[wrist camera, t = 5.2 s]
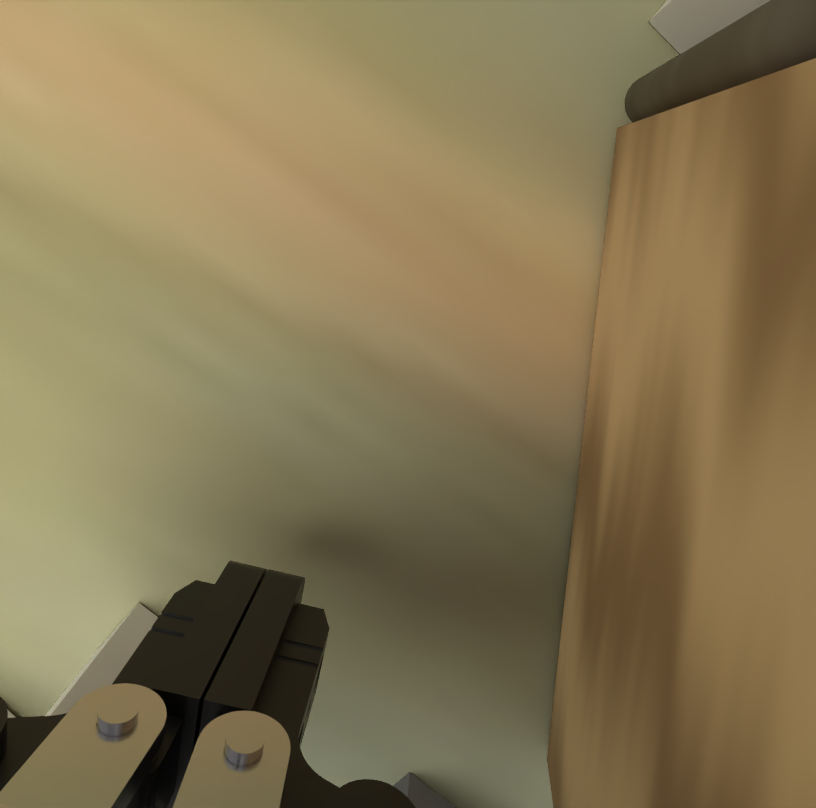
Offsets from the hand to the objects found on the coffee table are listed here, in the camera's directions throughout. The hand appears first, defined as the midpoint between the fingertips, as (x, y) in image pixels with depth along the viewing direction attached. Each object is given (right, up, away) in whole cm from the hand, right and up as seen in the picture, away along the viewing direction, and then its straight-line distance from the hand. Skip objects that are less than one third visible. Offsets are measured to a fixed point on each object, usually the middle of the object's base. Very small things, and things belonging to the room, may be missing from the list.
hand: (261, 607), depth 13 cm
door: (+8, +2, +2) cm, 8 cm away
